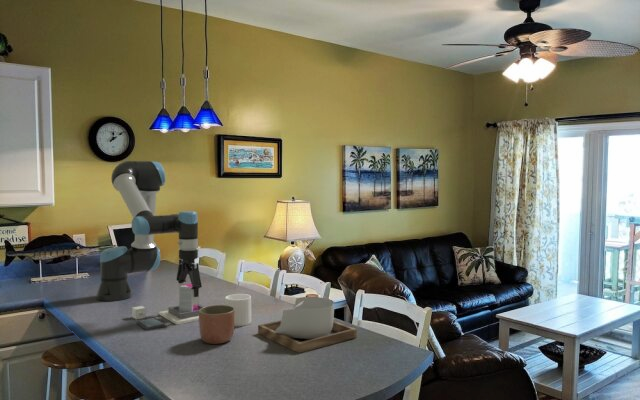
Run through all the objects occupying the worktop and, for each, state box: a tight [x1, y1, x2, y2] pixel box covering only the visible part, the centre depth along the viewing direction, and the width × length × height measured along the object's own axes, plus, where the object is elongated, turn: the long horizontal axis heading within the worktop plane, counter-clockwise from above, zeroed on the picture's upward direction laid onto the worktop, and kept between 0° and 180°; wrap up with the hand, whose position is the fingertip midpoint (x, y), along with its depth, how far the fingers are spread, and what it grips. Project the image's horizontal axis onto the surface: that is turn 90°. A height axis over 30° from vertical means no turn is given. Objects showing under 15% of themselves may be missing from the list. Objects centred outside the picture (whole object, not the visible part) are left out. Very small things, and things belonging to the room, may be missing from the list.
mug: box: [224, 293, 252, 328], centre depth 195 cm, size 13×10×10 cm
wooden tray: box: [257, 320, 358, 354], centre depth 179 cm, size 25×25×3 cm
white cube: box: [131, 305, 147, 320], centre depth 201 cm, size 5×4×4 cm
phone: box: [136, 317, 166, 331], centre depth 191 cm, size 11×7×1 cm, turn 39°
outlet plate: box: [158, 303, 205, 325], centre depth 204 cm, size 18×18×3 cm
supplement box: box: [178, 283, 198, 313], centre depth 204 cm, size 6×6×12 cm
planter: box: [198, 304, 235, 345], centre depth 173 cm, size 12×12×11 cm
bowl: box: [275, 296, 335, 340], centre depth 179 cm, size 20×19×12 cm
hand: (188, 301), depth 204 cm, fingers open, 12 cm apart
